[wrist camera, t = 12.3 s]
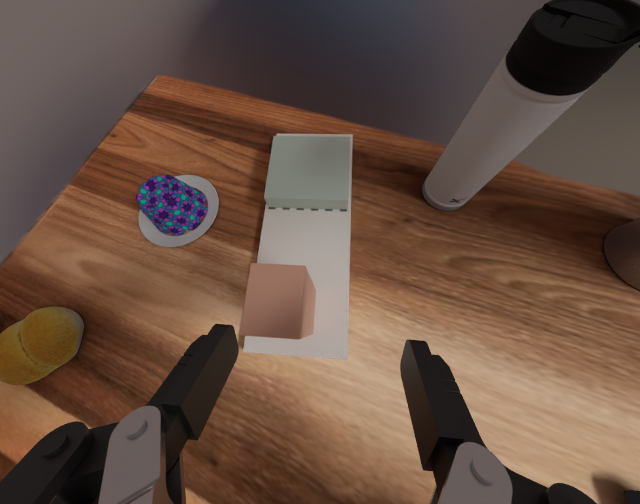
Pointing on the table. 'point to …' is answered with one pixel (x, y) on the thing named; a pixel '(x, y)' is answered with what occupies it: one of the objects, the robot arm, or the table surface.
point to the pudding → (175, 208)
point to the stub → (278, 302)
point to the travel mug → (532, 91)
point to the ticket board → (310, 234)
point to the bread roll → (39, 344)
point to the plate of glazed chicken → (632, 497)
